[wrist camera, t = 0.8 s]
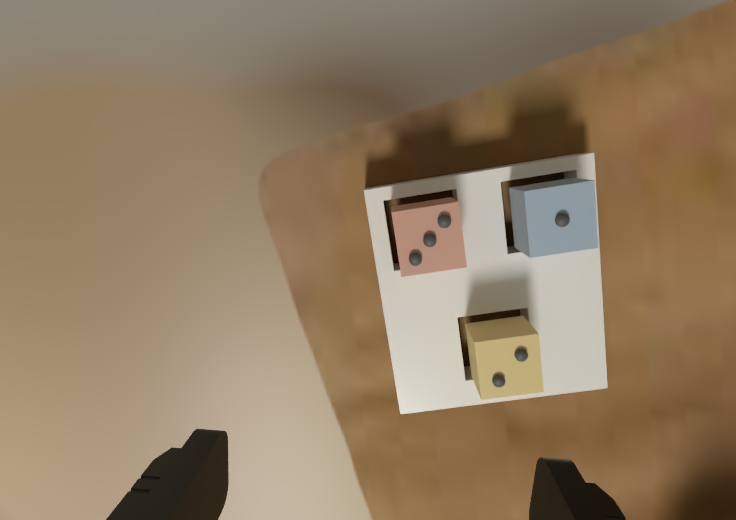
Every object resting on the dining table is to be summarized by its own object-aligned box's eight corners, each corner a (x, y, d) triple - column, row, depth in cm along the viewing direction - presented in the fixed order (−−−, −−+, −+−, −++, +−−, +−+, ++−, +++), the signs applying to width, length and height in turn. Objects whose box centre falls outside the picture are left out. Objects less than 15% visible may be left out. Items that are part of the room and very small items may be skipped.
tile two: (522, 315, 28) (539, 335, 25) (527, 368, 29) (545, 393, 26) (465, 323, 29) (474, 344, 26) (471, 375, 29) (481, 401, 26)
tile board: (579, 153, 28) (594, 152, 26) (593, 373, 31) (607, 387, 29) (365, 188, 29) (363, 190, 27) (399, 398, 32) (400, 414, 30)
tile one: (571, 177, 26) (596, 180, 23) (575, 238, 27) (600, 248, 24) (508, 187, 27) (525, 191, 24) (514, 247, 27) (531, 258, 24)
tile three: (450, 196, 27) (459, 202, 24) (458, 255, 28) (467, 268, 25) (390, 206, 27) (391, 212, 24) (399, 264, 28) (401, 277, 25)
